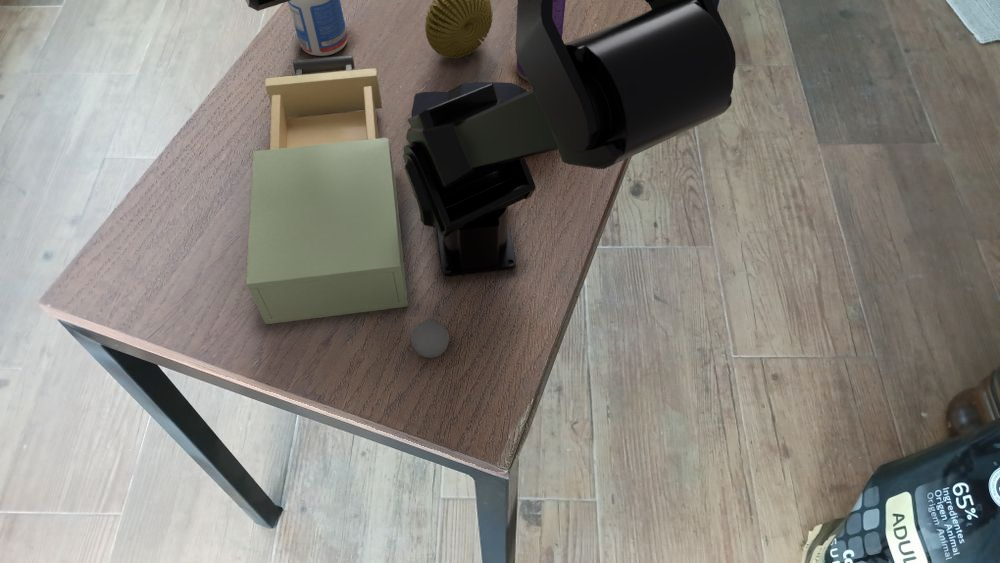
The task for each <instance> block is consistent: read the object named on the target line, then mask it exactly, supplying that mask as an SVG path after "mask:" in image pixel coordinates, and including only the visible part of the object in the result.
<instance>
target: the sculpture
mask: <svg viewBox="0 0 1000 563" xmlns="http://www.w3.org/2000/svg"><path fill="white" fill-rule="evenodd" d="M432 3H433V4H430V5H429V9H428V10H427V13H426V15H425V16H426V17H425V22H424V31H425V37H426V39H427V41H428V45H429V46H431V48H432V49H433V51H435V52H436V53H437V54H438V55H440V56H442V57H443V58H449V59H459V58H463V57H465V56H468V55H470V54H472V53H473V52H475V51H476V50H477V49H478V48H479V47H480V46H481V45H482V42H485V39H486V38H487V37H488V34H489V32H490V30H491V27H492V22H493V14H494V13H493V7H492V3H491V0H433V1H432Z"/></svg>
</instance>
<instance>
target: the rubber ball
mask: <svg viewBox="0 0 1000 563" xmlns="http://www.w3.org/2000/svg"><path fill="white" fill-rule="evenodd" d="M410 340H411V345H412V348H413V350H414V351H415V352H416V353H417V354H418V355H419V356H421V357H423V358H429V359H430V358H436V357H439V356H441V355H442V354H443V353H445V351H446V350H447V349H448V346H449V342H450V336H449V332H448V330H447V328H446V327H445V326H444V325H443V324H442V323H440V321H436V320H434V319H433V320H432V319H428V320H423V321H421V322H420V323H418V324H417V325H416V326H415V327H414V328H413V330H412V332H411V338H410Z"/></svg>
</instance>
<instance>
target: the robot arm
mask: <svg viewBox="0 0 1000 563" xmlns="http://www.w3.org/2000/svg"><path fill="white" fill-rule="evenodd" d="M288 1H291V0H245V3H246V4H247V7H249V8H250V9H253V10H254V11H257V12H259V11H263V10H265V9H269V8H271V7H275V6H278V5H282V4H284V3H288ZM644 1H645V2H646V3H647V4H648V5H649V7H650V8H651V9H650V10H648V11H645V12H643V13H640V14H638V15H637V14H636V15H635V16H632V17H629V18H627V19H625V20H623V21H622V20H621V21H620V22H618V23H614V24H611V25H610V26H607V27H604V28H602V29H600V30H596V31H594V32H592V33H589V34H587V35H585V36H582V37H579V38H576V39H574V40H572V41H569V42H567V43H565V42H564V40H563V37H562V38H561V36H560V34H559V31H558V29H557V27H556V25H555V23H554V21H553V18H552V13H553V0H517V5H516V6H517V7H516V9H517V10H516V28H515V48H514V49H515V54H516V55H515V56H516V60H517V59H518V61H519V63H520V65H521V67H522V69H523V71H524V73H525V75H526V77H527V79H528V81H527V82H528V83H529V85H530V88H531V89H528V90H527V91H526V92H524V93H522V94H519V95H517V96H515V97H513V98H511V99H508V100H506V101H504V102H502V100H501V99H499V98H498V96H497V93H496V90H495V87H494V84H493V83H491V84H489V85H486V86H484V87H481V88H479V89H476V90H474V91H471V92H469V93H466V94H464V95H461V96H459V97H456V98H454V99H451V100H449V101H446V102H444V103H441V104H439V105H436V106H434V107H431V108H429V109H426V110H424V111H423V112H422V113H420V114H418V115H416V116H413V117H409V118H407V122H408V124H409V126H410V127H409V128H408V130H407V131H406V134H405V136H406V137H405V139H406V141H407V143H408V144H406V145H404V146H403V154H402V157H403V162H404V166H403V168H404V171H405V174H406V176H407V179H408V182H409V185H410V188H411V190H412V193H413V196H414V198H415V200H416V203H417V205H418V209H419V214H420V215H419V216H420V221H421V223H422V224H423V225H424V226H426V227H432V228H433V229H435V228H436V231H437V240H438V248H439V253H440V262H441V263H440V264H441V269H442V274H443V276H445V277H456V276H466V275H473V274H482V273H491V272H499V271H508V270H513V269H515V268H516V266H517V258H516V253H515V249H514V244H513V239H512V235H511V229H510V225H509V207H510V206H512V205H514V204H516V203H519V202H520V201H523V200H528V199H530V198H531V197H532V196H533V194H534V193H535V191H536V189H537V186H536V183H535V180H534V178H533V175H532V172H531V170H530V168H529V165H528V162H527V159H526V158H530V157H534V156H538V155H542V154H545V153H546V154H547V153H550V152H554V151H558V154H559V156H560V159H561V162H562V163H564V164H566V165H570V166H574V167H575V166H576V167H582V168H589V169H594V170H595V169H596V170H605V169H607V168H610V167H612V166H614V165H616V164H619V163H621V162H623V161H625V160H627V159H629V158H631V157H634V156H635V155H638V154H641V153H642V152H644V151H646V150H649V149H650V148H652V147H655V146H657V145H659V144H662V143H663V142H666V141H668V140H669V139H672V138H674V137H676V136H679V135H681V134H682V133H685V132H687V131H689V130H691V129H694V128H696V127H698V126H700V125H703V124H704V123H706V122H709V121H711V120H713V119H715V118H717V117H718V116H719V117H720V116H721V115H722V114H725V113H726V111H727V110H728V109H729V108H730V107H731V106H732V102H733V98H732V96H731V95H732V93H733V89H734V76H735V75H734V74H735V71H736V68H737V60H736V59H737V58H736V50H735V47H734V44H733V41H732V38H731V35H730V33H729V31H728V29H727V27H726V25H725V22H724V21H723V18H722V16H721V14H720V12H719V9H718V8H717V6H716V3H715V2H714V0H644ZM448 270H449V271H448Z"/></svg>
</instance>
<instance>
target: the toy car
mask: <svg viewBox="0 0 1000 563" xmlns="http://www.w3.org/2000/svg"><path fill="white" fill-rule="evenodd" d="M491 83H493V84H494V87H495V90H496V93H497V96H498V98H499V99H501V100H502V102H504V101H506V100H508V99H511V98H513V97H515V96H517V95H519V94H522V93H524V92H526V91H528V90H527V89H525V88H524V87H522V86H520V85H518V84H516V83H514V82H513V83H512V82H503V81H497V82H496V81H482V82H481V81H472V82H471V81H470V82H464V83H462V84H460V85H458V86H455V87H454V88H451V89H450V90H447V91H437V90H436V91H421V92H416V93H414V96H413V103H412V108H411V117H413V116H416V115H418V114H420V113H422V112H423V111H424V110H426V109H429V108H431V107H434V106H436V105H439V104H441V103H444V102H446V101H449V100H451V99H454V98H456V97H459V96H461V95H464V94H466V93H469V92H471V91H474V90H476V89H479V88H481V87H484V86H486V85H489V84H491ZM411 117H410V118H411Z"/></svg>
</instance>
